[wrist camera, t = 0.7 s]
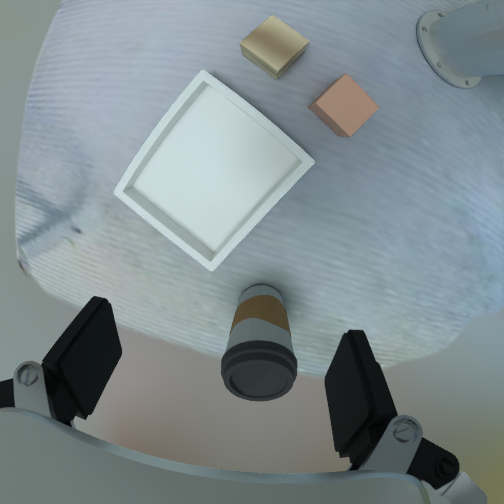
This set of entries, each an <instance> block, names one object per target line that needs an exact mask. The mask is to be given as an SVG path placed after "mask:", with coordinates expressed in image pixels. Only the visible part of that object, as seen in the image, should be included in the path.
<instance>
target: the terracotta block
mask: <svg viewBox="0 0 504 504" xmlns="http://www.w3.org/2000/svg"><path fill="white" fill-rule="evenodd" d="M308 108H309V109H310V110H311V111H313V112H314V113H315V114H316V115H317V116H318V117H319V118H320V119H321V120H322V121H323V122H324V123H325V124H326V125H328V126H329V127H330V128H331V129H332V130H333V131H334V132H335V133H336V134H337V135H338V136H344V137H351V136H352V135H353V134H354V133H355V132H356V131H357V130H358V129H359V128H360V127H361V126H362V125H363V124H364V123H365V122H366V121H367V120H368V119H369V118H370V116H371V115H372V114H373V113H374V112H375V111H376V110H377V109H378V108H379V106H378V105H377V104H376V103H375V102H374V100H373V99H372V98H371V97H370V96H369V95H368V94H367V93H366V92H365V91H364V90H363V89H362V88H361V87H360V86H359V85H358V84H357V83H356V82H355V81H354V80H353V79H352V78H351V77H350V76H349V75H348V74H347V73H346V74H344V75H343V76H341V77H340V78H338V79H337V80H335V81H334V82H333V83H332V84H331V85H330V86H329V87H328V88H327V89H326V90H325V91H324V92H323V93H322V94H321V95H320V96H319V97H318V98H317V99H316V100H315V101H314V102H313V103H312V104H311V105H310V106H309V107H308Z"/></svg>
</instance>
